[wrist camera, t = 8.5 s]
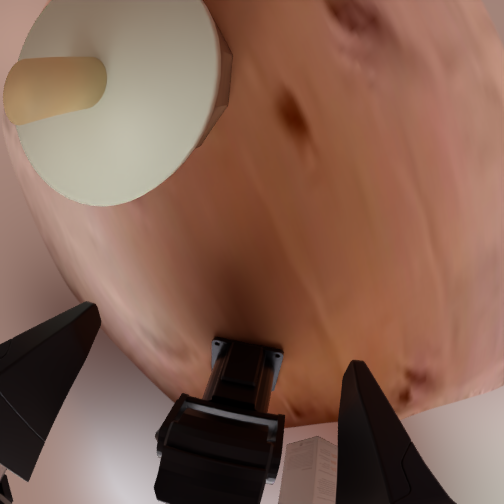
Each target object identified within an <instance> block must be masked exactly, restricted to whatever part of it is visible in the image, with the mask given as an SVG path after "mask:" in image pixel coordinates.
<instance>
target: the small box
mask: <svg viewBox="0 0 504 504" xmlns="http://www.w3.org/2000/svg"><path fill="white" fill-rule="evenodd" d="M337 457H338V446H336V445H334V444H332V443H330V442H328V441H326V440H325V439H323V438H321V437H319V436H316V437H312V438H309V439H306V440H302V441H298V442H294V443H291V444H287V445H286V453H285V460H284V467H283V475H282V481H281V488H280V495H279V502H278V504H335V500H336V483H337Z"/></svg>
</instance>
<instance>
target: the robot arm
mask: <svg viewBox="0 0 504 504" xmlns="http://www.w3.org/2000/svg"><path fill="white" fill-rule="evenodd" d="M100 326H101V318H100V314H99V311H98V307H97V305H96V304H95V303H92V302H89V301H86V302H83V303H81V304H79V305H78V306H75V307H73V308H71V309H69V310H67V311H65V312H63V313H61V314H59V315H57V316H55V317H53V318H51V319H49V320H47V321H45V322H43V323H41V324H39V325H37V326H35V327H33V328H31V329H29V330H27V331H25V332H23V333H21V334H19V335H17V336H16V337H14V338H13V339H10V340H8V341H6V342H4V343H2V344H0V504H12V502H13V498H12V495H11V491H10V487H9V483H8V479H7V476H6V475H5V472H6V470H7V469H8V470H10V471H11V472H13V473H14V474H16V475H17V476H19V477H20V478H22V479H23V480H25V481H27V482H28V481H29V480H30V477H31V474H32V472H33V469H34V467H35V465H36V462H37V460H38V457H39V455H40V453H41V450H42V448H43V446H44V443H45V442H44V441H46V439H47V436H48V434H49V432H50V430H51V427H52V425H53V423H54V421H55V419H56V417H57V415H58V413H59V410H60V409H61V407H62V404H63V402H64V400H65V398H66V396H67V394H68V392H69V390H70V388H71V387H72V384H73V383H74V381H75V379H76V377H77V375H78V373H79V371H80V369H81V368H82V366H83V364H84V362H85V360H86V358H87V356H88V353H89V351H90V349H91V347H92V344H93V342H94V340H95V337H96V335H97V333H98V330H99V328H100ZM283 355H284V352H283V351H282V350H280V349H276V348H270V347H264V346H259V345H254V344H249V343H244V342H239V341H234V340H229V339H224V338H220V337H214V338H213V341H212V373H211V375H210V378H209V381H208V384H207V387H206V390H205V392H204V395H203V398H202V399H199V398H196V397H192V396H189V395H188V394H185V393H182V394H181V396H180V398H179V399H177V400H176V402H175V404H174V406H173V407H172V409H171V411H170V412H169V414H168V416H167V417H166V419H165V421H164V422H163V424H162V426H161V427H160V429H159V430H158V431H157V432H156V434H155V438H156V440H157V442H158V443H157V456H158V457H159V458H161V461H160V466H159V471H158V475H157V478H156V481H155V485H154V490H155V494H156V498H157V500H158V501H161V502H164V503H166V504H260V502H261V498H262V494H263V490H264V486H265V484H271V485H272V484H274V482H275V479H276V476H277V473H278V469H279V465H280V460H281V454H282V445H283V434H284V422H285V415H282V414H278V415H276V414H270V413H267V412H268V406H269V401H270V395H271V391H274V388H275V385H276V381H277V378H278V374H279V371H280V367H281V363H282V360H283ZM335 504H457V503H455V502H454V501H453V500H452V499H451V498H450V497H449V496H448V494H447V493H446V492H445V490H444V489H443V487H442V486H441V485H440V483H439V482H438V481H437V479H436V478H435V476H434V475H433V474H432V472H431V471H430V469H429V468H428V466H427V465H426V464H425V462H424V461H423V459H422V457H421V456H420V454H419V452H418V451H417V449H416V447H415V445H414V444H413V442H411V439H410V437H409V435H408V434H407V432H406V430H405V428H404V427H403V425H402V423H401V421H400V420H399V418H398V416H397V415H396V413H395V411H394V410H393V408H392V406H391V405H390V403H389V401H388V399H387V398H386V396H385V395H384V393H383V391H382V390H381V388H380V386H379V385H378V383H377V381H376V380H375V378H374V376H373V375H372V373H371V372H370V370H369V368H368V367H367V365H366V363H365V362H364V361H360V360H352V361H351V362H350V364H349V366H348V368H347V370H346V372H345V373H344V376H343V380H342V390H341V399H340V408H339V417H338V457H337V483H336V500H335Z"/></svg>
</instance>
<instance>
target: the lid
mask: <svg viewBox="0 0 504 504" xmlns="http://www.w3.org/2000/svg"><path fill="white" fill-rule="evenodd" d="M220 77H221V52H220V43H219V37H218V34H217V30H216V26H215V23H214V21H213V18H212V16H211V14H210V12H209V10H208V8H207V6H206V5H205V3H204V2H203V1H202V0H52V1H51V2H50V3H49V4H48V5H47V6H46V7H45V9H44V10H43V11H42V13H41V14H40V15H39V17H38V18H37V20H36V21H35V23H34V25H33V26H32V28H31V30H30V32H29V33H28V36H27V38H26V40H25V42H24V45H23V47H22V50H21V53H20V56H19V59H18V62H17V63H16V64H15V65H14V66H13V67H12V68H11V70H10V72H9V74H8V76H7V78H6V82H5V85H4V93H3V103H4V109H5V112H6V115H7V117H8V118H9V120H10V121H11V122H12V123H13V124H15V125H16V129H17V132H18V136H19V139H20V142H21V145H22V147H23V150H24V152H25V154H26V156H27V158H28V160H29V161H30V163H31V165H32V166H33V168H34V169H35V171H36V172H37V173H38V174H39V176H40V177H41V178H42V179H43V180H44V181H45V182H46V183H47V184H48V185H49V186H50V187H51V188H53V189H54V190H55V191H57V192H58V193H59V194H61V195H63V196H65V197H66V198H68V199H70V200H73V201H75V202H78V203H81V204H86V205H90V206H113V205H119V204H122V203H126V202H130V201H132V200H134V199H136V198H139V197H141V196H143V195H144V194H146V193H147V192H149V191H151V190H152V189H154V188H155V187H157V186H158V185H160V184H161V183H162V182H164V181H165V180H166V179H167V178H169V177H170V176H171V175H172V174H173V173H175V172H176V171H177V170H178V168H179V167H180V166H181V165H182V164H183V163H184V162H185V161H186V160H187V159H188V157H189V156H190V154H191V153H192V152H193V150H194V149H195V147H196V146H197V144H198V143H199V141H200V139H201V137H202V135H203V134H204V132H205V130H206V128H207V125H208V123H209V120H210V118H211V115H212V113H213V110H214V106H215V103H216V99H217V95H218V90H219V83H220Z"/></svg>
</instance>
